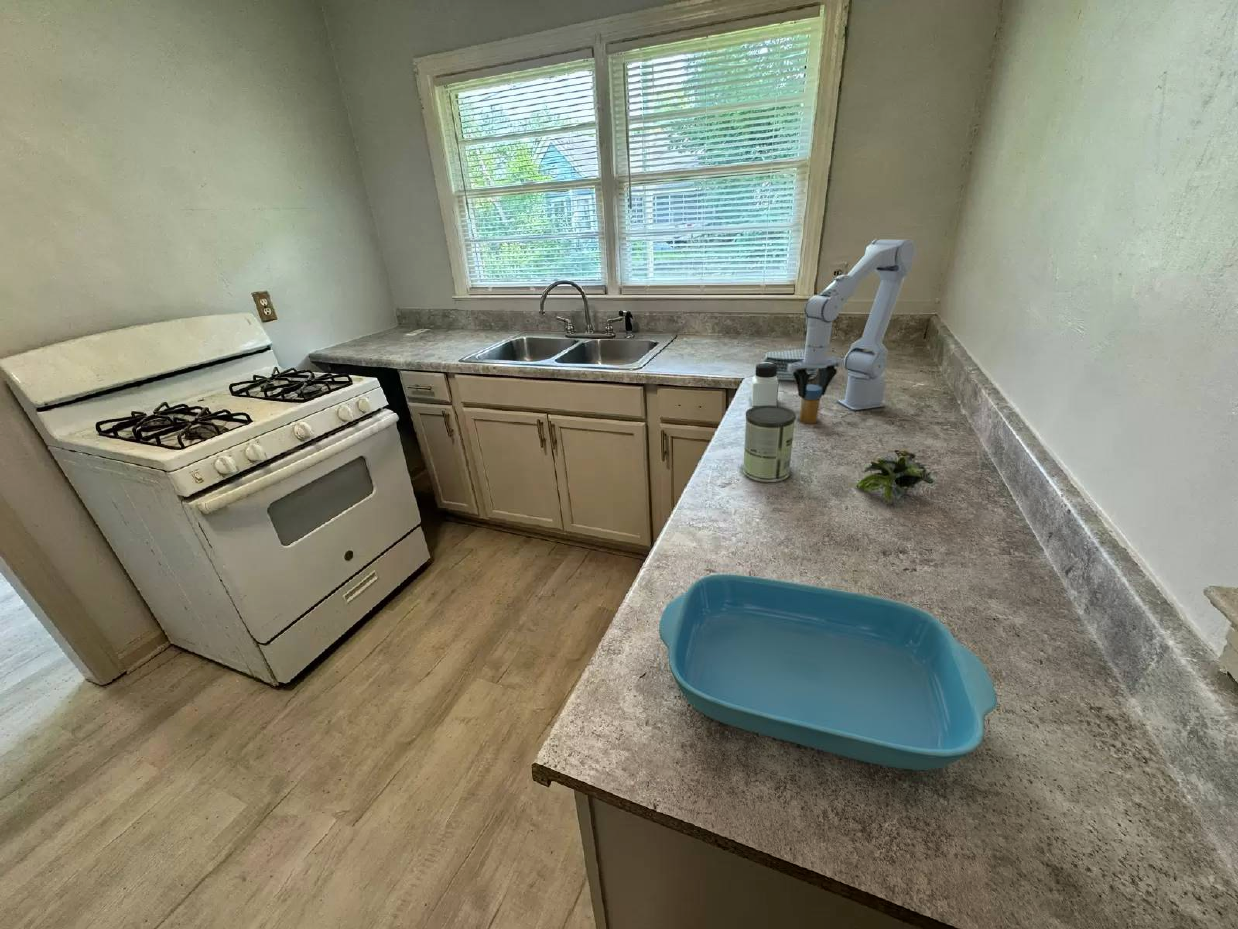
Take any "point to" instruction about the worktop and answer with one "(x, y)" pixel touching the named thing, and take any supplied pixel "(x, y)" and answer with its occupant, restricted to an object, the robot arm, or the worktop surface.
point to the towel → (787, 358)
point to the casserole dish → (828, 670)
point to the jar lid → (813, 392)
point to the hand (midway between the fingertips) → (811, 395)
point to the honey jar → (809, 410)
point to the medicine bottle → (765, 385)
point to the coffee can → (768, 443)
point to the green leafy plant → (895, 474)
